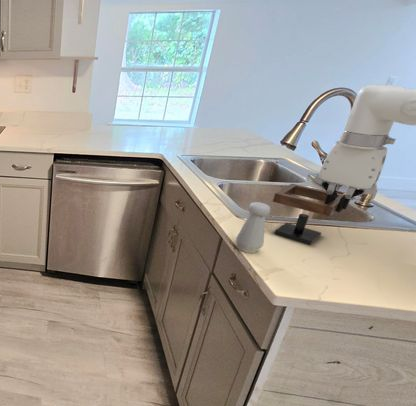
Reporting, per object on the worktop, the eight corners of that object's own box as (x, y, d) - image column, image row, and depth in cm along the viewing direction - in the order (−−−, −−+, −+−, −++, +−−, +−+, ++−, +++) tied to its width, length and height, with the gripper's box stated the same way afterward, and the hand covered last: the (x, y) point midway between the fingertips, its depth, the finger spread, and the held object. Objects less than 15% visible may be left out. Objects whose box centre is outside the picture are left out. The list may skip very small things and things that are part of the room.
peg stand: (320, 236, 101) (328, 216, 98) (310, 245, 97) (318, 224, 94) (285, 226, 107) (291, 206, 105) (274, 234, 103) (280, 214, 100)
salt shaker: (251, 243, 98) (264, 199, 93) (266, 254, 93) (281, 208, 88) (229, 243, 99) (241, 199, 94) (242, 255, 93) (256, 209, 88)
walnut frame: (344, 204, 97) (347, 195, 96) (329, 216, 90) (333, 207, 89) (288, 191, 106) (291, 183, 105) (272, 201, 100) (275, 193, 99)
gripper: (413, 143, 83) (379, 215, 90) (325, 131, 95) (301, 196, 102) (406, 148, 79) (371, 224, 86) (315, 136, 91) (291, 203, 98)
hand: (333, 209), depth 94 cm, fingers closed on walnut frame, 1 cm apart
